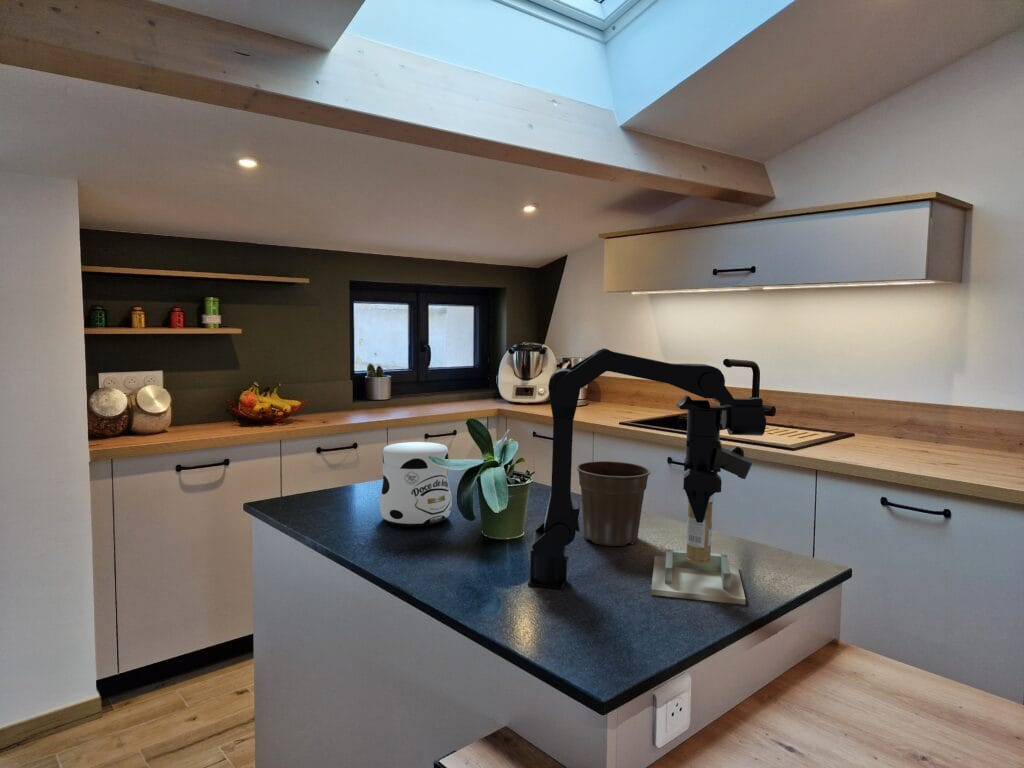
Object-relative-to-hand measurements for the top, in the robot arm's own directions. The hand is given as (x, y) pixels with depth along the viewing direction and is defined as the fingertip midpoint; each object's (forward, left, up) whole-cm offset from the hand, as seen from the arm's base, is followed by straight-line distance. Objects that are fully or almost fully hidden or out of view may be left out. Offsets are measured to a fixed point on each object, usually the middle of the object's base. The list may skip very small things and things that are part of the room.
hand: (699, 518), depth 124 cm
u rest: (0, +2, -13) cm, 13 cm away
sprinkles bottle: (0, 0, -8) cm, 8 cm away
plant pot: (-18, +24, -13) cm, 33 cm away
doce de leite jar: (-65, +24, -13) cm, 71 cm away
